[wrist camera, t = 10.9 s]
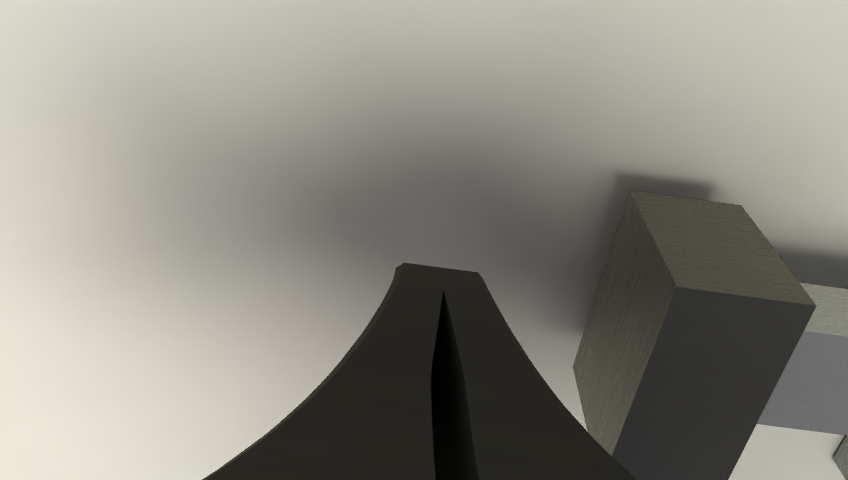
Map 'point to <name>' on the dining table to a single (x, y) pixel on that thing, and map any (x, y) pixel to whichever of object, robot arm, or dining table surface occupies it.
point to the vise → (842, 458)
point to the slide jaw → (705, 342)
